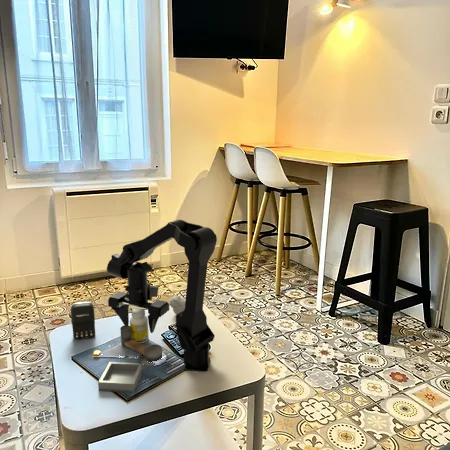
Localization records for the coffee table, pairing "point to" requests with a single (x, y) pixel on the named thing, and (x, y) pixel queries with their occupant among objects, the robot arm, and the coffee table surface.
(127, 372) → the tray
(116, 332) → the coffee table surface
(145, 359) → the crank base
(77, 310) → the battery charger
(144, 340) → the supplement bottle
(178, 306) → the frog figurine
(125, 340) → the crank
